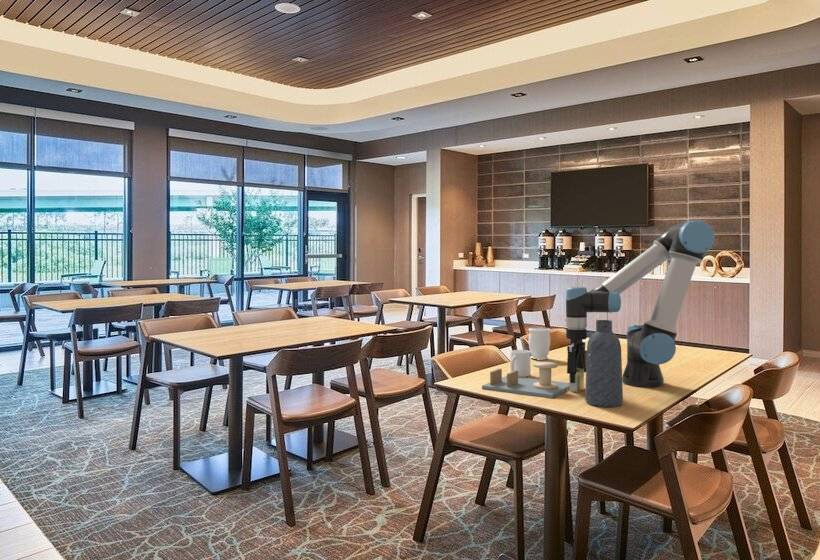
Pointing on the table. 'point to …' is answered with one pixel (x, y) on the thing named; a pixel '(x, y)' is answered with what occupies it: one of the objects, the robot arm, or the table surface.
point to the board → (528, 382)
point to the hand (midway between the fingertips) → (576, 389)
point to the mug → (520, 362)
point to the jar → (539, 342)
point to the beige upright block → (580, 379)
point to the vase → (604, 367)
